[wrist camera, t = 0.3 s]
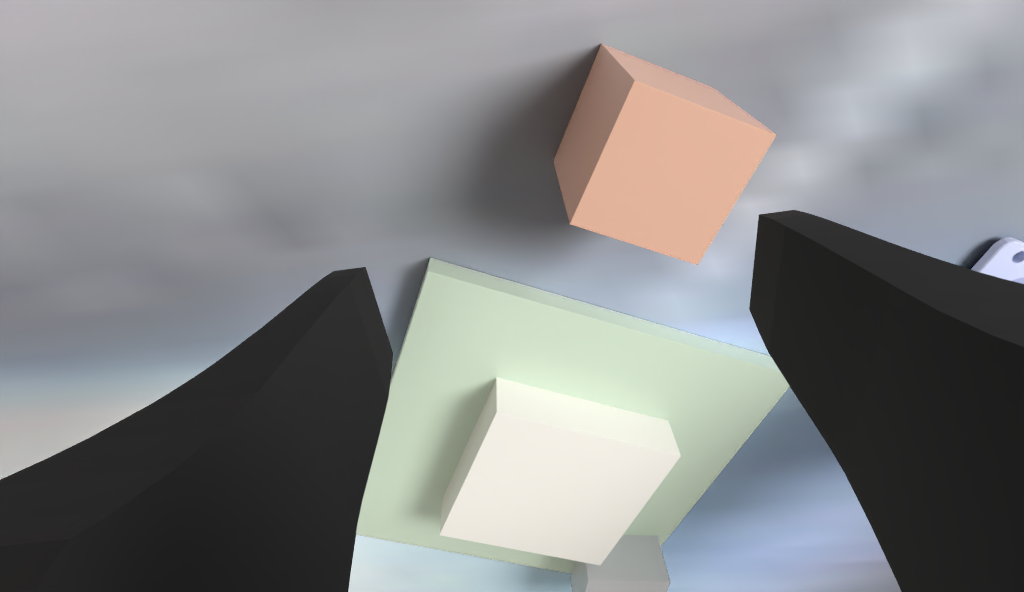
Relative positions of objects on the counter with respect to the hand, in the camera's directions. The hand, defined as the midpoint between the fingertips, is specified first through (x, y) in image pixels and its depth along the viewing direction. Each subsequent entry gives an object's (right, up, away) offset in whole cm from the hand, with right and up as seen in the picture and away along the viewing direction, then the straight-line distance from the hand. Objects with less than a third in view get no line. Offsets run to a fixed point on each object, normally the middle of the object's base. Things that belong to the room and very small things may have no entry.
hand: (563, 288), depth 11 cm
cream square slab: (+1, -8, +16) cm, 18 cm away
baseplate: (+1, -7, +17) cm, 18 cm away
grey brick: (+4, -14, +20) cm, 25 cm away
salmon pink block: (+3, +6, +9) cm, 11 cm away
